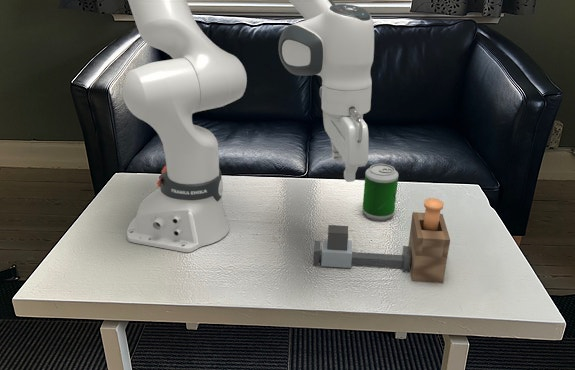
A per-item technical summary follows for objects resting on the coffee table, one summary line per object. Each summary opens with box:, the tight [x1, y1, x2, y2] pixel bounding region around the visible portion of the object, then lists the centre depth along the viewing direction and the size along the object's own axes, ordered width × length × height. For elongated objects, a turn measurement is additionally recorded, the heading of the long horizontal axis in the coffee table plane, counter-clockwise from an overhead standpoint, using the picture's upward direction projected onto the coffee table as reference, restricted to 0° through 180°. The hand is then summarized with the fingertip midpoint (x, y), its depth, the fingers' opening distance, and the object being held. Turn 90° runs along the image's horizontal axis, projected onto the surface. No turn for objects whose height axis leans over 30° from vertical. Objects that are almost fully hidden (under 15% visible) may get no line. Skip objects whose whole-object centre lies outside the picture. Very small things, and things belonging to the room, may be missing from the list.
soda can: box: [362, 163, 399, 222], centre depth 132 cm, size 8×8×12 cm
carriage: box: [320, 224, 353, 269], centre depth 115 cm, size 6×5×8 cm
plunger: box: [423, 197, 445, 231], centre depth 110 cm, size 4×4×6 cm
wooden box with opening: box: [407, 211, 451, 284], centre depth 113 cm, size 6×10×10 cm, turn 174°
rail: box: [312, 240, 411, 273], centre depth 115 cm, size 19×4×4 cm, turn 84°
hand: (343, 169), depth 107 cm, fingers open, 8 cm apart
